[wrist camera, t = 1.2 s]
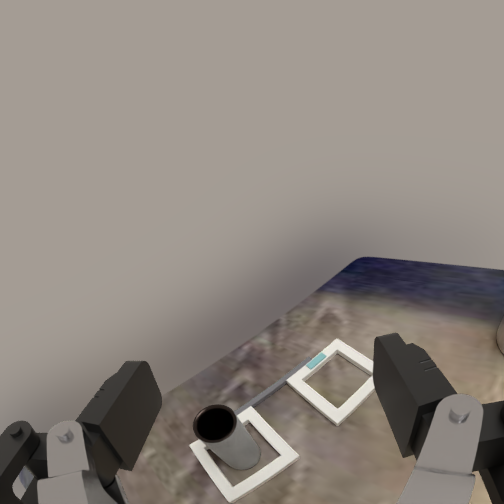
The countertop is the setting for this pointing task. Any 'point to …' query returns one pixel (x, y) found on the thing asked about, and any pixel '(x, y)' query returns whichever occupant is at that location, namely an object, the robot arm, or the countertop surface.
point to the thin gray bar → (271, 388)
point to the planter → (226, 436)
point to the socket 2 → (316, 399)
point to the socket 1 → (259, 477)
